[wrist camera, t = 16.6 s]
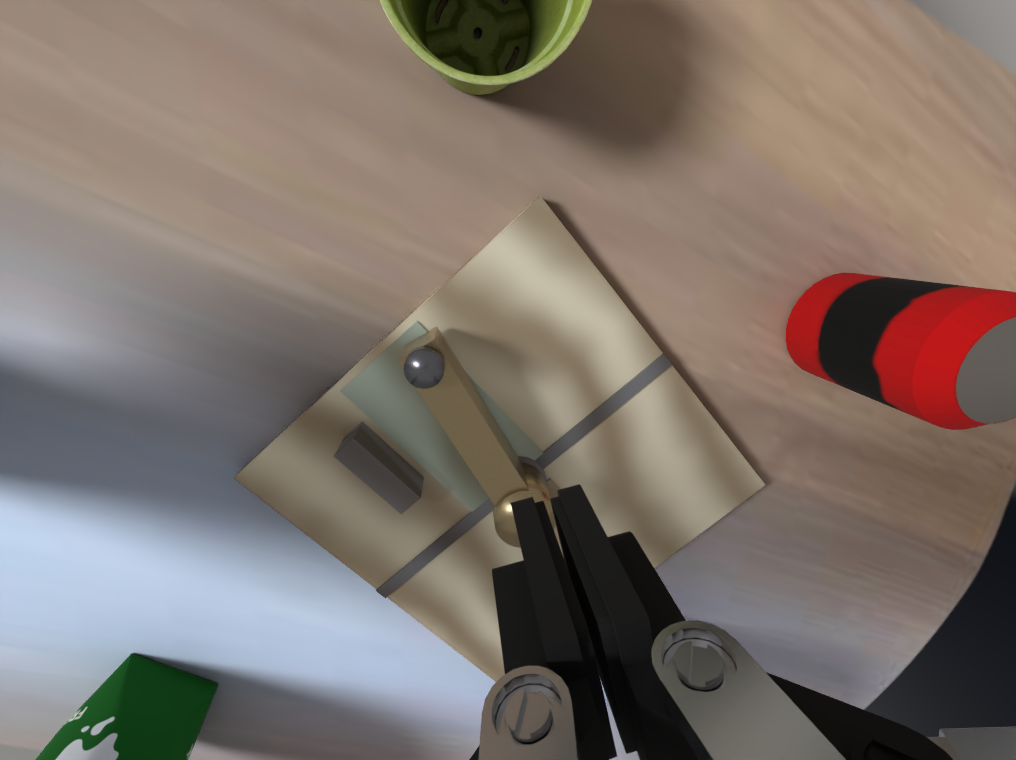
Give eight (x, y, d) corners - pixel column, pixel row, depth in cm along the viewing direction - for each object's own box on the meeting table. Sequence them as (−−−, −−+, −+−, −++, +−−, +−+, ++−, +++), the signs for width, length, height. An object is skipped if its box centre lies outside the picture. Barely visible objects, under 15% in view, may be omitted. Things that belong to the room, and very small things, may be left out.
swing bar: (554, 494, 35) (568, 535, 30) (507, 520, 35) (514, 563, 31) (447, 318, 30) (444, 334, 26) (393, 349, 30) (381, 371, 26)
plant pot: (438, -107, 25) (427, -269, 17) (588, -2, 27) (642, -100, 19) (368, 70, 27) (329, 3, 19) (512, 155, 29) (532, 128, 21)
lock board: (498, 672, 42) (502, 716, 38) (241, 469, 34) (213, 500, 30) (756, 477, 38) (788, 504, 35) (537, 197, 30) (549, 193, 26)
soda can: (879, 358, 36) (1071, 418, 25) (785, 384, 36) (934, 457, 25) (879, 260, 34) (1092, 276, 22) (778, 288, 34) (941, 319, 22)
